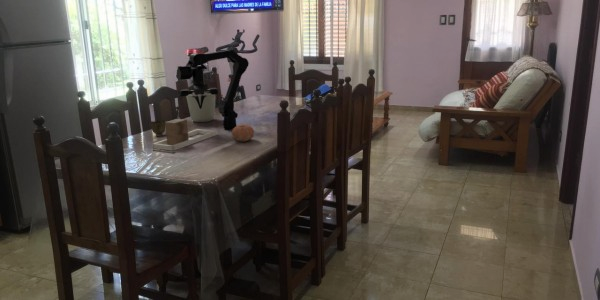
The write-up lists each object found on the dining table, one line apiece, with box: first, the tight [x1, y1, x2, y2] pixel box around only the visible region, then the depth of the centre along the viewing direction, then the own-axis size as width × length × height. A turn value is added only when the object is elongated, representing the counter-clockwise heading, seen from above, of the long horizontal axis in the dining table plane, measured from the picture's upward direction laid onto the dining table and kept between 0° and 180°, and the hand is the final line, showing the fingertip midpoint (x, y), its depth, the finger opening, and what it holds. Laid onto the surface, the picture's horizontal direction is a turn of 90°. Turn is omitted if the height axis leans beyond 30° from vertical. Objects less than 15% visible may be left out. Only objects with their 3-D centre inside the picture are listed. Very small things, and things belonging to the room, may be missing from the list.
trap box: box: [151, 128, 218, 154], centre depth 227 cm, size 32×12×4 cm, turn 152°
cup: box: [149, 119, 166, 138], centre depth 244 cm, size 8×7×8 cm
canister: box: [185, 88, 216, 123], centre depth 279 cm, size 18×18×21 cm
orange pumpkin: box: [231, 124, 255, 143], centre depth 230 cm, size 11×11×8 cm
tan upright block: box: [165, 118, 189, 145], centre depth 221 cm, size 8×6×11 cm
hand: (200, 108), depth 246 cm, fingers closed
